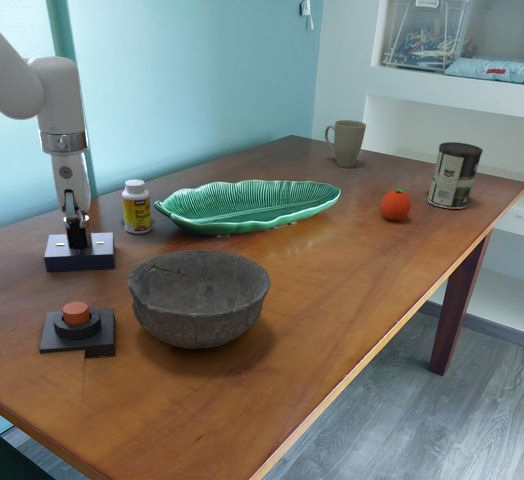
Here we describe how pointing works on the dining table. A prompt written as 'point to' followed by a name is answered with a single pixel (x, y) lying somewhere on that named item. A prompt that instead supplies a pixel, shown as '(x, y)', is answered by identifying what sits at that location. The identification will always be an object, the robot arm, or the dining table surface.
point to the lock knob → (87, 227)
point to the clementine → (396, 204)
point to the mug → (346, 141)
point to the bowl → (198, 296)
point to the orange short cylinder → (76, 313)
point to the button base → (80, 334)
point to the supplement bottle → (136, 207)
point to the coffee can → (454, 174)
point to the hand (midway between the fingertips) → (79, 239)
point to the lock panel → (80, 254)
